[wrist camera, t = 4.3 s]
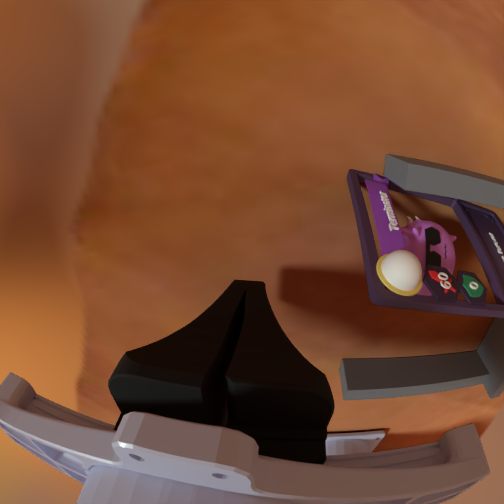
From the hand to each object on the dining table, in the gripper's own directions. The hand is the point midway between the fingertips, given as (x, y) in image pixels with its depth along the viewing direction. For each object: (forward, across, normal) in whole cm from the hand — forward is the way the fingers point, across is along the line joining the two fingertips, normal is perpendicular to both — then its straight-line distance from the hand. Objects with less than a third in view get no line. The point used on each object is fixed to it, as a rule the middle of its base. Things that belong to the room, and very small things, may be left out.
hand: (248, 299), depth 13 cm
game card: (+2, -8, -3) cm, 9 cm away
